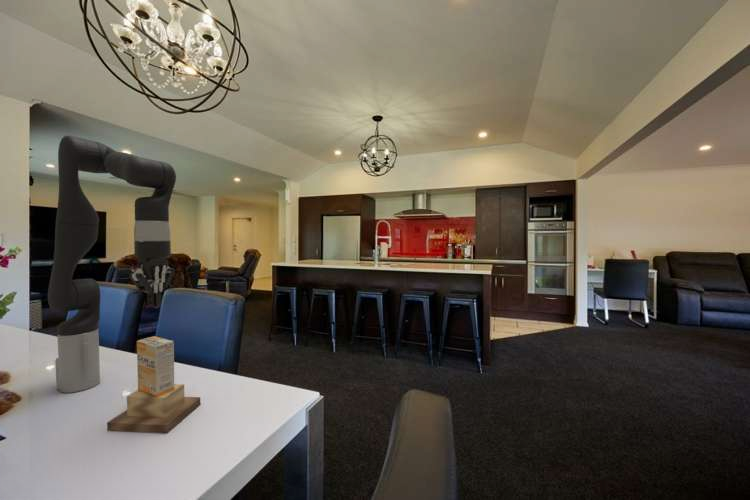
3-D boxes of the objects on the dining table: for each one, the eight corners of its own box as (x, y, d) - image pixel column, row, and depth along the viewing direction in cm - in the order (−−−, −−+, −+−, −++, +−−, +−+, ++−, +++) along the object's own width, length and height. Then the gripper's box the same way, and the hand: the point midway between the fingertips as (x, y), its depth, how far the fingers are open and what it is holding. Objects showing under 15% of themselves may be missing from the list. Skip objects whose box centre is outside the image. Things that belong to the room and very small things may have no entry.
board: (107, 430, 76) (107, 422, 76) (149, 402, 89) (149, 395, 89) (167, 433, 75) (166, 425, 75) (200, 404, 88) (200, 397, 88)
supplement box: (136, 390, 81) (135, 340, 81) (156, 382, 86) (155, 335, 85) (156, 398, 78) (154, 345, 77) (175, 389, 82) (174, 339, 81)
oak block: (127, 415, 79) (126, 396, 78) (149, 401, 86) (148, 383, 85) (165, 417, 78) (165, 397, 78) (184, 402, 85) (184, 384, 85)
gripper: (158, 239, 87) (159, 301, 88) (115, 239, 74) (118, 313, 74) (184, 239, 86) (185, 302, 87) (146, 239, 73) (148, 313, 74)
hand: (154, 307), depth 81 cm, fingers closed
